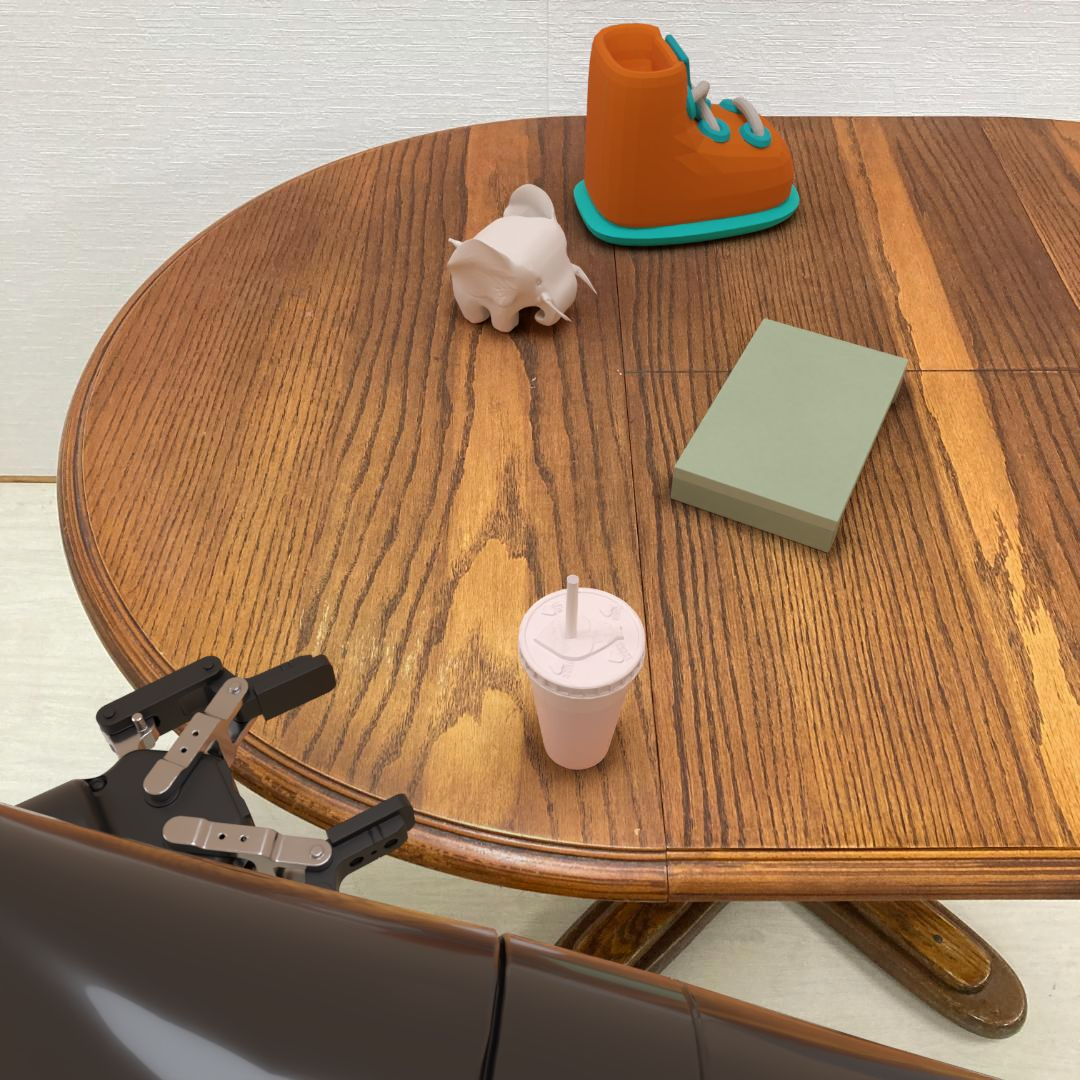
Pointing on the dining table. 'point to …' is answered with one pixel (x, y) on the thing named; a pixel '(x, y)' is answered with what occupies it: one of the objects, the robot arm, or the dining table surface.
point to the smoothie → (580, 669)
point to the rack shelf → (789, 433)
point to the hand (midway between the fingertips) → (369, 735)
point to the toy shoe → (673, 150)
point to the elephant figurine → (516, 265)
